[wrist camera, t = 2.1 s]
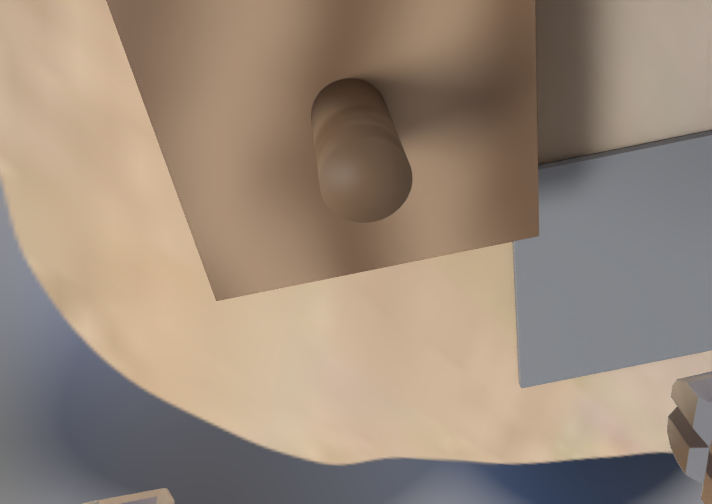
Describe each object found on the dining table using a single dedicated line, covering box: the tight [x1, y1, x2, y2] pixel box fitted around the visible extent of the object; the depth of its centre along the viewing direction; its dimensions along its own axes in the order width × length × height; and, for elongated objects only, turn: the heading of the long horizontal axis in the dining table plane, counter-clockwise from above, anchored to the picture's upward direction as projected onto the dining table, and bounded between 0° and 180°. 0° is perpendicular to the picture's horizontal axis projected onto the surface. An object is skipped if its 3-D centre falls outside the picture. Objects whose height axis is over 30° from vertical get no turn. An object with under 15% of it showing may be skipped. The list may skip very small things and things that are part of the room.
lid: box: [106, 0, 539, 301], centre depth 21 cm, size 13×13×6 cm
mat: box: [513, 130, 712, 388], centre depth 32 cm, size 13×13×1 cm
